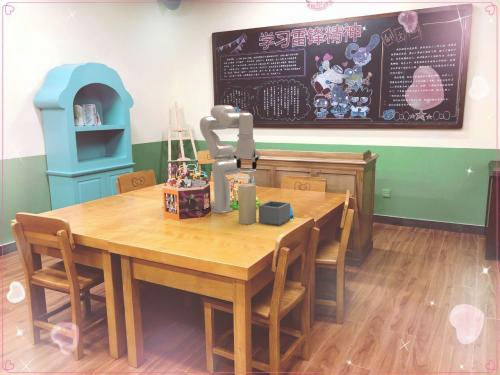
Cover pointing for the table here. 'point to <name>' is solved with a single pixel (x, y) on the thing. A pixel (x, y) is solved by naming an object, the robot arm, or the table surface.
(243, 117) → the robot arm
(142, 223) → the table surface
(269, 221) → the box
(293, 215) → the lever
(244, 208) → the beige tall block
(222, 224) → the table surface
